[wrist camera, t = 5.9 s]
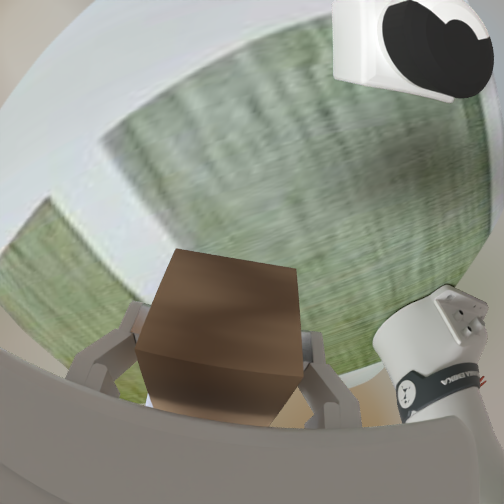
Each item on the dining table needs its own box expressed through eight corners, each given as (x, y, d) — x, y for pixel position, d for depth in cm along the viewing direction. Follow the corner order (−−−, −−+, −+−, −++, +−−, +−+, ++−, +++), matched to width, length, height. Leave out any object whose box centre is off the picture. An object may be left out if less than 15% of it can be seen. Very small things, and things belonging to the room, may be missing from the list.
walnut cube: (296, 268, 12) (303, 376, 8) (270, 339, 15) (268, 427, 11) (175, 248, 12) (134, 348, 8) (177, 324, 14) (153, 408, 10)
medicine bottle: (408, 90, 19) (502, 124, 9) (332, 79, 19) (398, 95, 10) (409, 18, 15) (504, 10, 5) (330, 1, 15) (393, -43, 5)
